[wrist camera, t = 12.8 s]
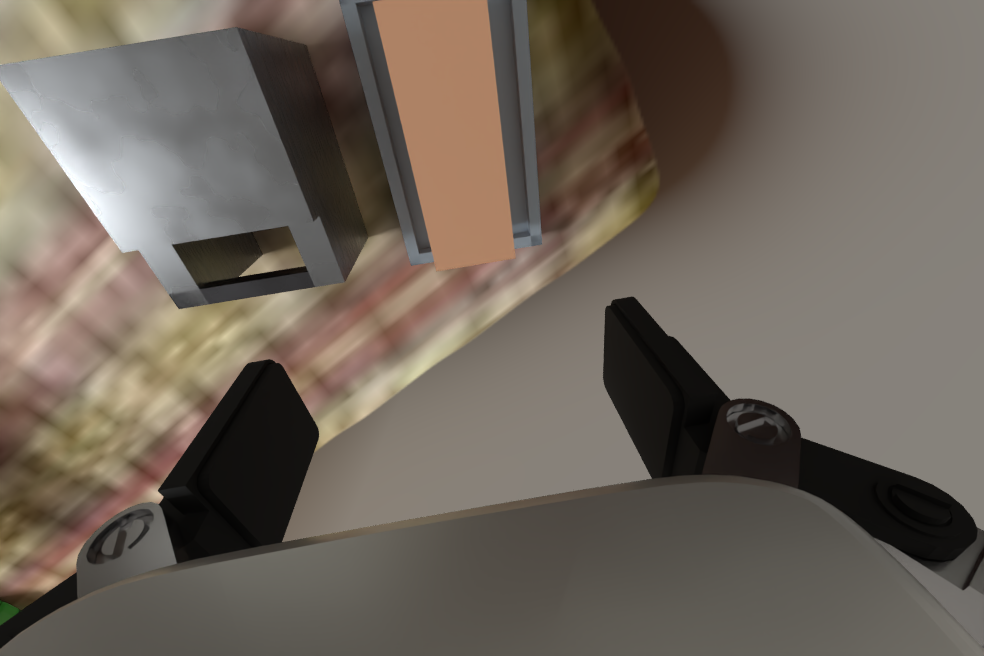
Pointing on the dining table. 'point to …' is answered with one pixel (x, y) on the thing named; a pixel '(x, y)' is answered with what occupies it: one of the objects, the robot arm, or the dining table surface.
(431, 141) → the tan rectangular block
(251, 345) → the dining table surface
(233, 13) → the dining table surface
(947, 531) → the robot arm
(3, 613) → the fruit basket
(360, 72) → the tray
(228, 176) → the dispenser
